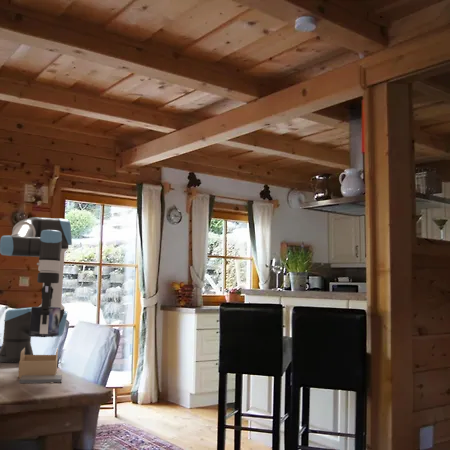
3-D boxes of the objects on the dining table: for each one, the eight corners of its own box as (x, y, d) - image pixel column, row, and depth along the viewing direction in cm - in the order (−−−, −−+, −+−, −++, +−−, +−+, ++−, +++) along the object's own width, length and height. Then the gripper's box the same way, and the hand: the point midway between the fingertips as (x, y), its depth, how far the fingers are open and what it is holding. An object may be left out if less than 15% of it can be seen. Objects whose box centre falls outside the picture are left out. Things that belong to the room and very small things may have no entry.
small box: (45, 337, 192) (47, 307, 194) (28, 336, 194) (30, 306, 195) (59, 335, 203) (61, 306, 204) (43, 334, 204) (45, 306, 205)
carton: (22, 370, 219) (24, 347, 220) (56, 370, 222) (58, 347, 223) (18, 377, 201) (20, 352, 202) (55, 377, 204) (56, 352, 205)
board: (21, 378, 199) (22, 375, 200) (61, 378, 203) (62, 374, 203) (19, 383, 190) (19, 379, 190) (61, 382, 193) (61, 379, 194)
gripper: (39, 272, 212) (35, 329, 209) (35, 271, 189) (31, 335, 186) (60, 273, 213) (56, 329, 211) (58, 271, 190) (54, 335, 188)
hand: (44, 332), depth 198 cm, fingers closed on small box, 12 cm apart
